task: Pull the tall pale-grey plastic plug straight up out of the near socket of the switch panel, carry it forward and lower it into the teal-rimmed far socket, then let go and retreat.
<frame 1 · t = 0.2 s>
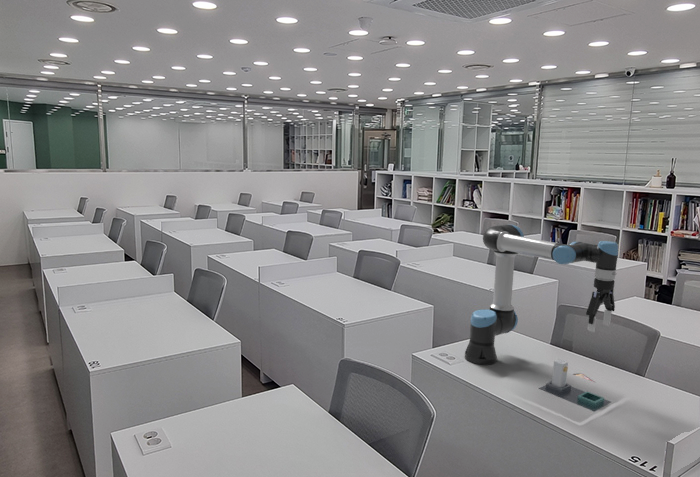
hand: (598, 328, 216), 27 cm above the table, fingers open, 13 cm apart
smartphone: (584, 383, 228), on the table
panel: (573, 397, 213), on the table
plug: (558, 388, 218), point 1 cm above the table, touching panel
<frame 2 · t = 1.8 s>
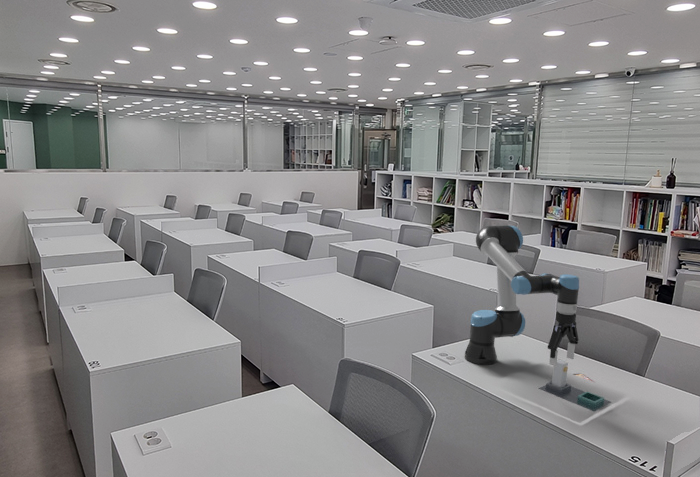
hand: (561, 361, 216), 13 cm above the table, fingers open, 13 cm apart
nothing on the table moved.
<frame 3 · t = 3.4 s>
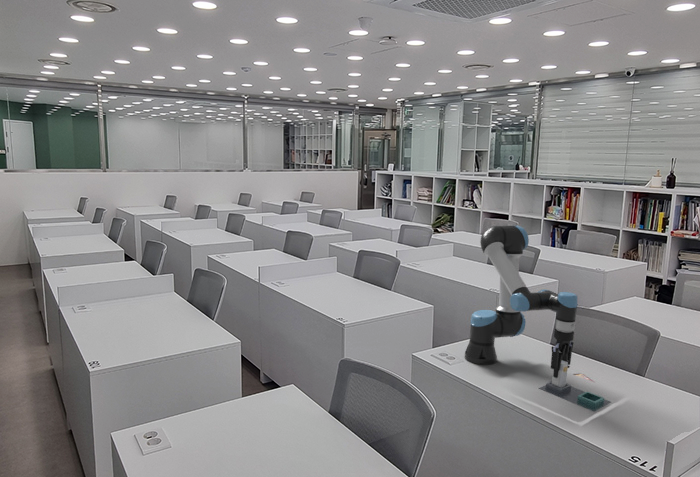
hand: (558, 382, 218), 4 cm above the table, fingers closed on plug, 4 cm apart
plug: (558, 388, 218), point 1 cm above the table, touching gripper, panel
everything else where it was.
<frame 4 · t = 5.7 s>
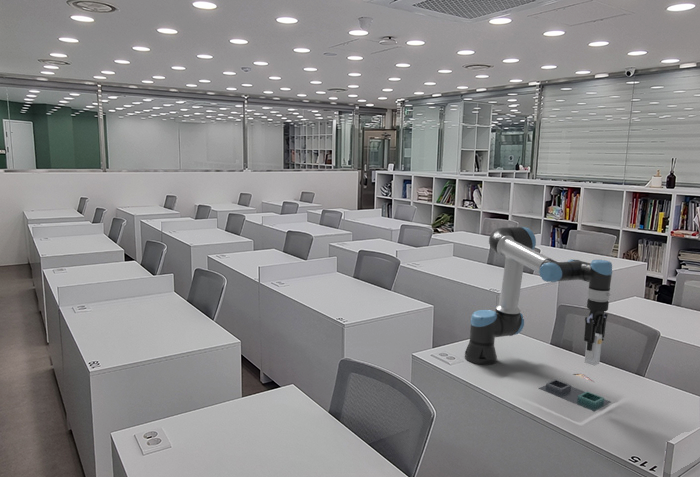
hand: (592, 356, 205), 20 cm above the table, fingers closed on plug, 4 cm apart
plug: (591, 363, 205), point 17 cm above the table, touching gripper
everything else where it was.
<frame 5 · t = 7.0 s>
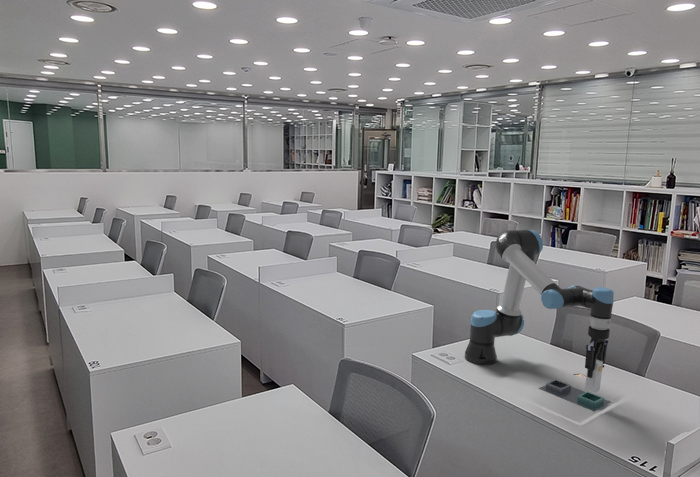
hand: (592, 383, 206), 9 cm above the table, fingers closed on plug, 4 cm apart
plug: (592, 389, 206), point 6 cm above the table, touching gripper
everything else where it was.
when the fingers open (5 cm above the table, at t = 8.2 s): plug drops 1 cm, resting on panel.
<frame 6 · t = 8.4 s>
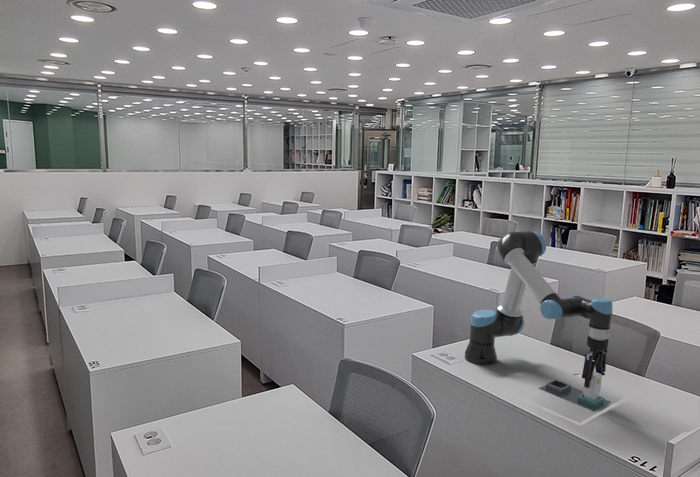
hand: (591, 392, 207), 5 cm above the table, fingers open, 7 cm apart
plug: (590, 401, 207), point 1 cm above the table, touching panel
everything else where it was.
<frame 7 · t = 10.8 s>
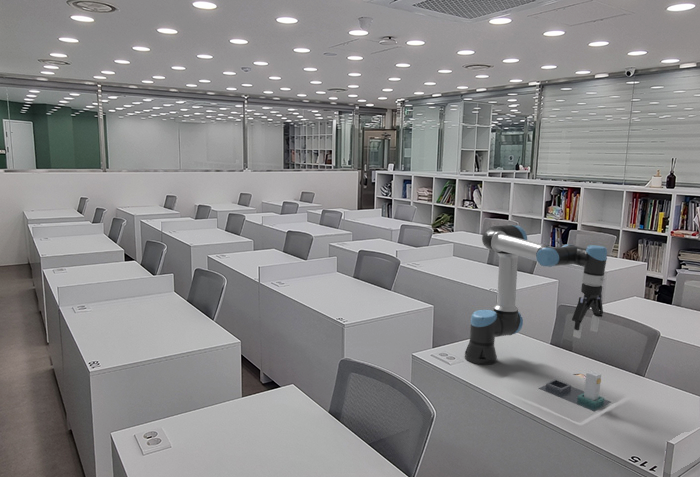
hand: (585, 334, 211), 26 cm above the table, fingers open, 13 cm apart
nothing on the table moved.
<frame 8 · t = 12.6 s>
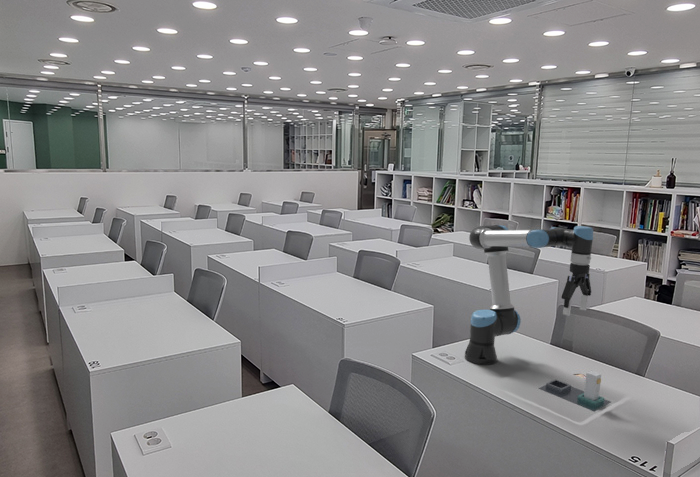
hand: (574, 312, 219), 33 cm above the table, fingers open, 13 cm apart
nothing on the table moved.
at the end: plug 0.0 cm from the target spot on the panel, point 1.0 cm above the panel's base; plug tilted 0°; the gripper is holding nothing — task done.
